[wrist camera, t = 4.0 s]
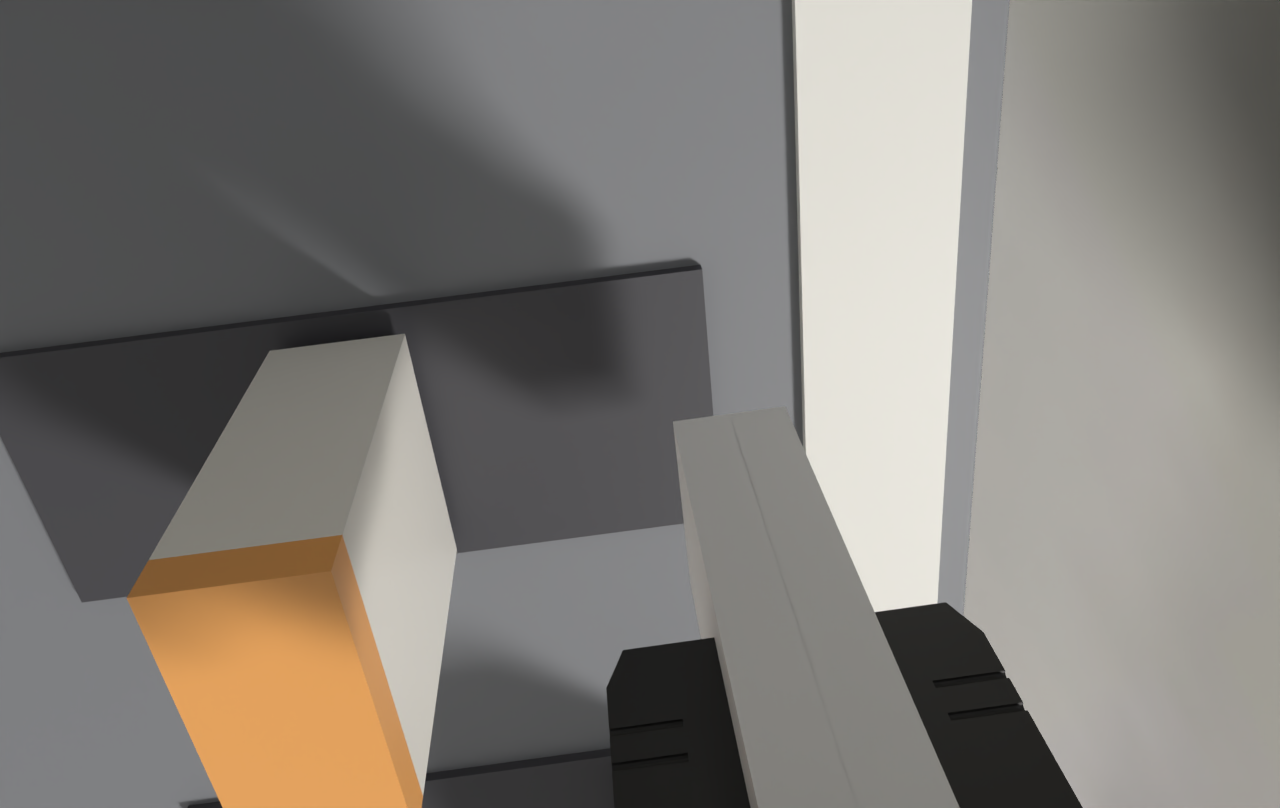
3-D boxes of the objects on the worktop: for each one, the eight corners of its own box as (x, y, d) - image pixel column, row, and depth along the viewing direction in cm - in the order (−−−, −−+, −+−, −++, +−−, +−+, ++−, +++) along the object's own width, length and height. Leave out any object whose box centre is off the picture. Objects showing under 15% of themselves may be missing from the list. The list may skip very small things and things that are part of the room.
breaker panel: (-816, -633, 11) (-1115, -741, 9) (997, -820, 11) (1090, -966, 9) (114, 934, 24) (76, 1026, 22) (914, 823, 25) (945, 904, 23)
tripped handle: (270, 350, 14) (126, 597, 10) (404, 333, 15) (330, 571, 10) (337, 564, 16) (247, 861, 12) (456, 549, 16) (417, 838, 12)
